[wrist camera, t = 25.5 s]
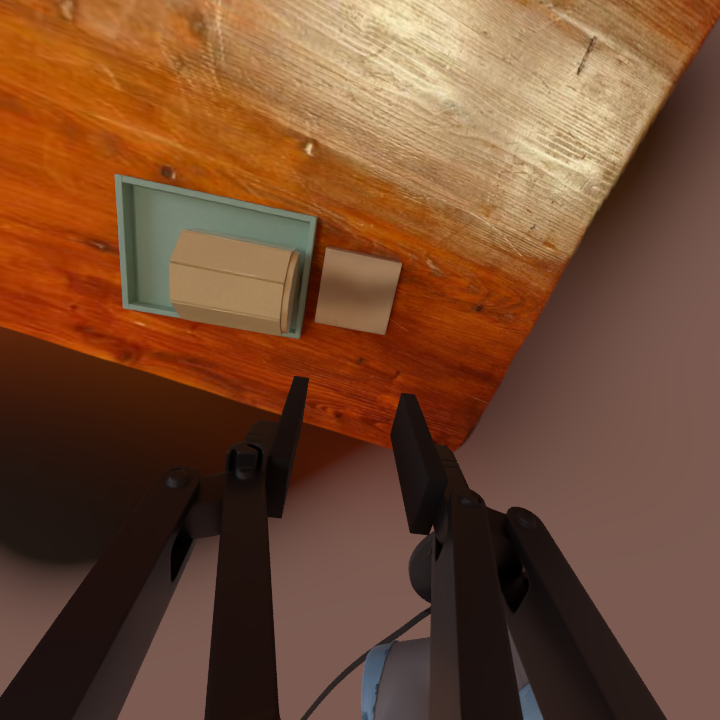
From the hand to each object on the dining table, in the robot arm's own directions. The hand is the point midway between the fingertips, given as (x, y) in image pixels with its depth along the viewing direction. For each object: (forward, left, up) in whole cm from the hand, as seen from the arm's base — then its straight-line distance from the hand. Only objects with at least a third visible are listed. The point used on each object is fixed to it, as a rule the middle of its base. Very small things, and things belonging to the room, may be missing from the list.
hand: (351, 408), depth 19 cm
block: (+2, -1, -24) cm, 24 cm away
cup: (+1, +6, -19) cm, 20 cm away
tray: (+2, +14, -24) cm, 28 cm away
